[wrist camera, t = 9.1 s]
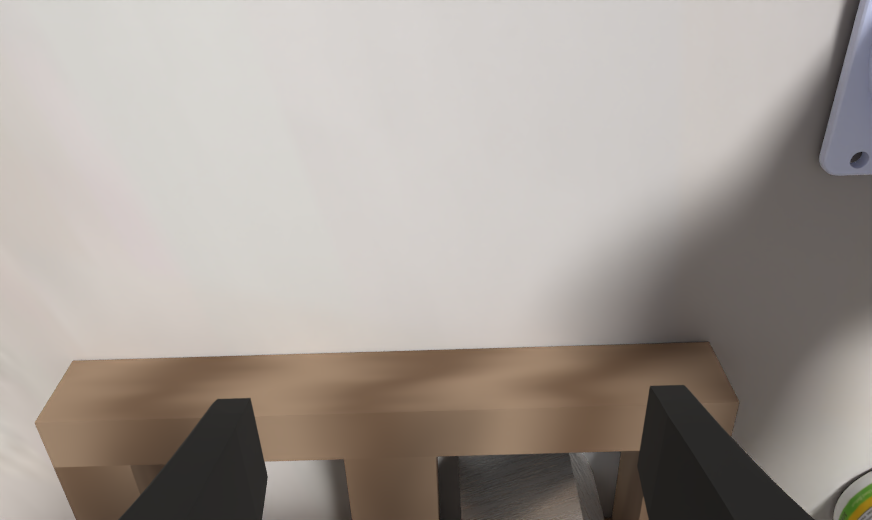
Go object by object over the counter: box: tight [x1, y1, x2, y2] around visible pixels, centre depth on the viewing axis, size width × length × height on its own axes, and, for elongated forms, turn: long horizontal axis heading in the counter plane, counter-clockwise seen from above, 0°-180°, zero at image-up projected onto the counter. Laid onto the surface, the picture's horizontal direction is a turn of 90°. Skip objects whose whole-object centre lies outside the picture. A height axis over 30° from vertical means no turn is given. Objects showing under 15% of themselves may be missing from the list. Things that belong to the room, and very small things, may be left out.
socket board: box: [35, 342, 739, 520], centre depth 28 cm, size 22×11×3 cm, turn 92°
